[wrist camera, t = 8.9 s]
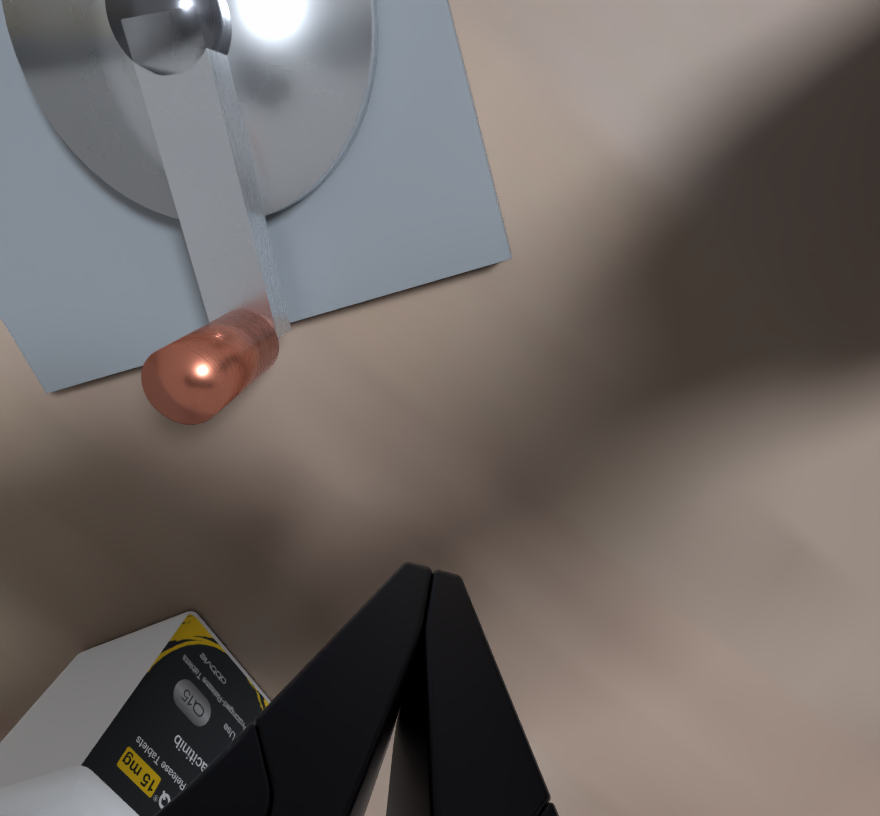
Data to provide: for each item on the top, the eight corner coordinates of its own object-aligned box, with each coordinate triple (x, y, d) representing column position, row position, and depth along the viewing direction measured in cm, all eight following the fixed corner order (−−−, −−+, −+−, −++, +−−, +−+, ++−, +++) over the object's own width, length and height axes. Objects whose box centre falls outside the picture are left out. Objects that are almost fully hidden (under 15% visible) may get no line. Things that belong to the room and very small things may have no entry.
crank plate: (339, -438, 11) (256, -729, 7) (510, 253, 16) (511, 279, 12) (-215, -99, 15) (-455, -185, 11) (68, 382, 20) (-33, 433, 16)
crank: (-40, -169, 13) (-355, -358, 8) (338, -269, 11) (220, -568, 7) (146, 364, 18) (18, 436, 13) (423, 340, 16) (389, 411, 12)
